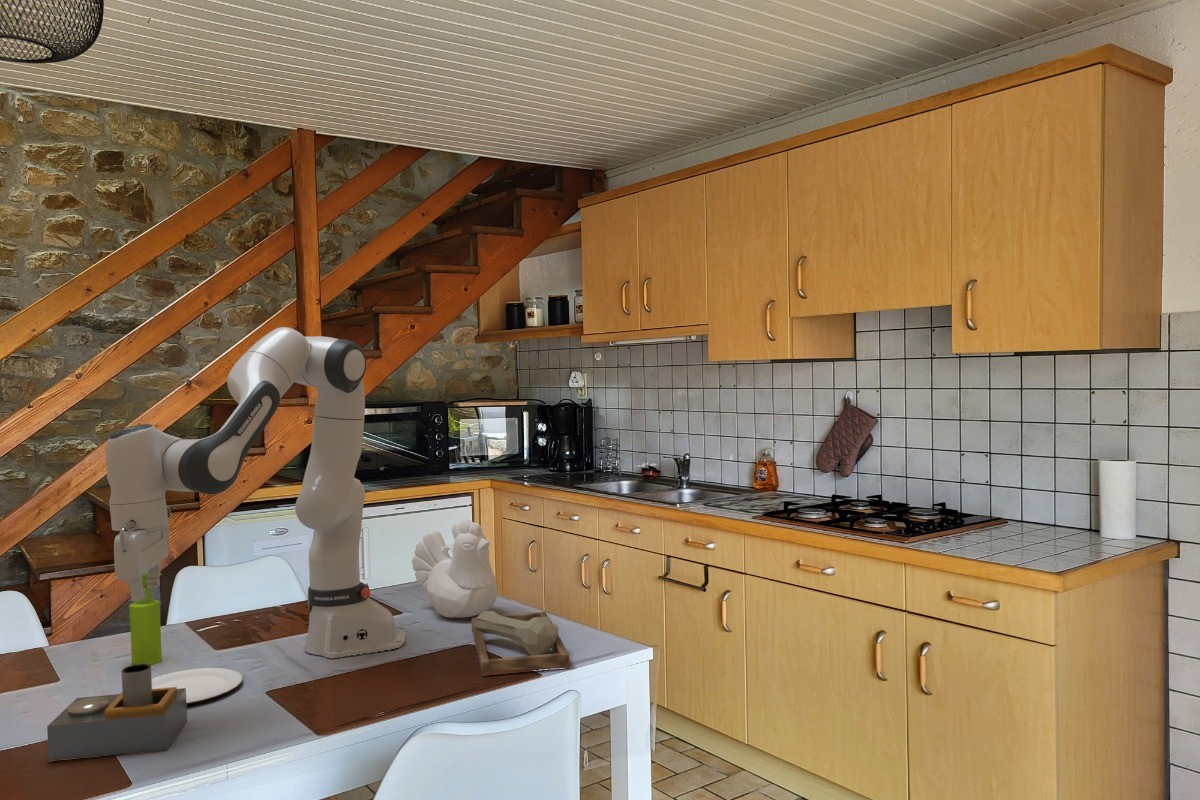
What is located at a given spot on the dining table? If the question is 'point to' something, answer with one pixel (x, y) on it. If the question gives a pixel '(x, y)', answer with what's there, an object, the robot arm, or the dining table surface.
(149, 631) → the soap dispenser
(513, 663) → the candle surround
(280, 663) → the dining table surface
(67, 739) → the grey box with knob
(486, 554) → the decorative rooster
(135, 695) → the grey cylinder
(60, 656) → the dining table surface
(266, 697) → the dining table surface
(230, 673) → the plate
